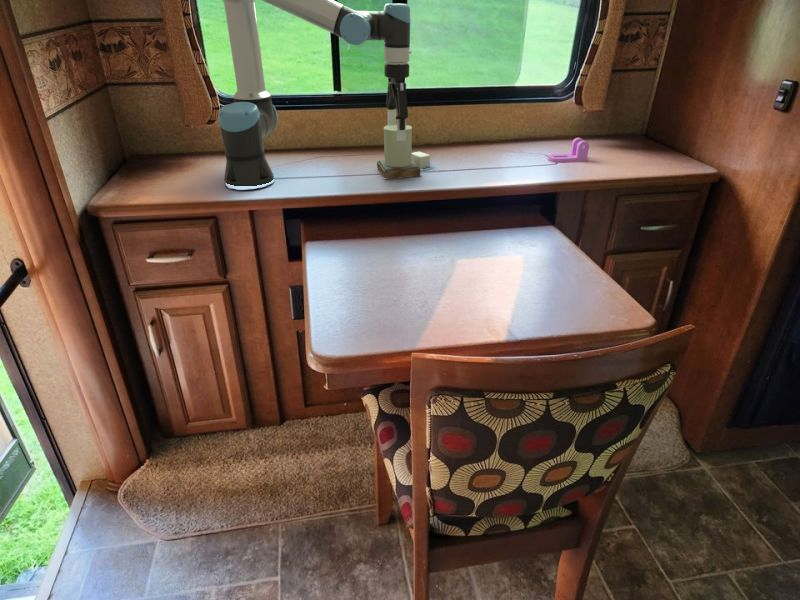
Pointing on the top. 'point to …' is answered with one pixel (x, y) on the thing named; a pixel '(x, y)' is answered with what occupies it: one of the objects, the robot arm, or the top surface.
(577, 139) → the bracket
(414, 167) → the stand
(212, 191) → the top surface
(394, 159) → the can
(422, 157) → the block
